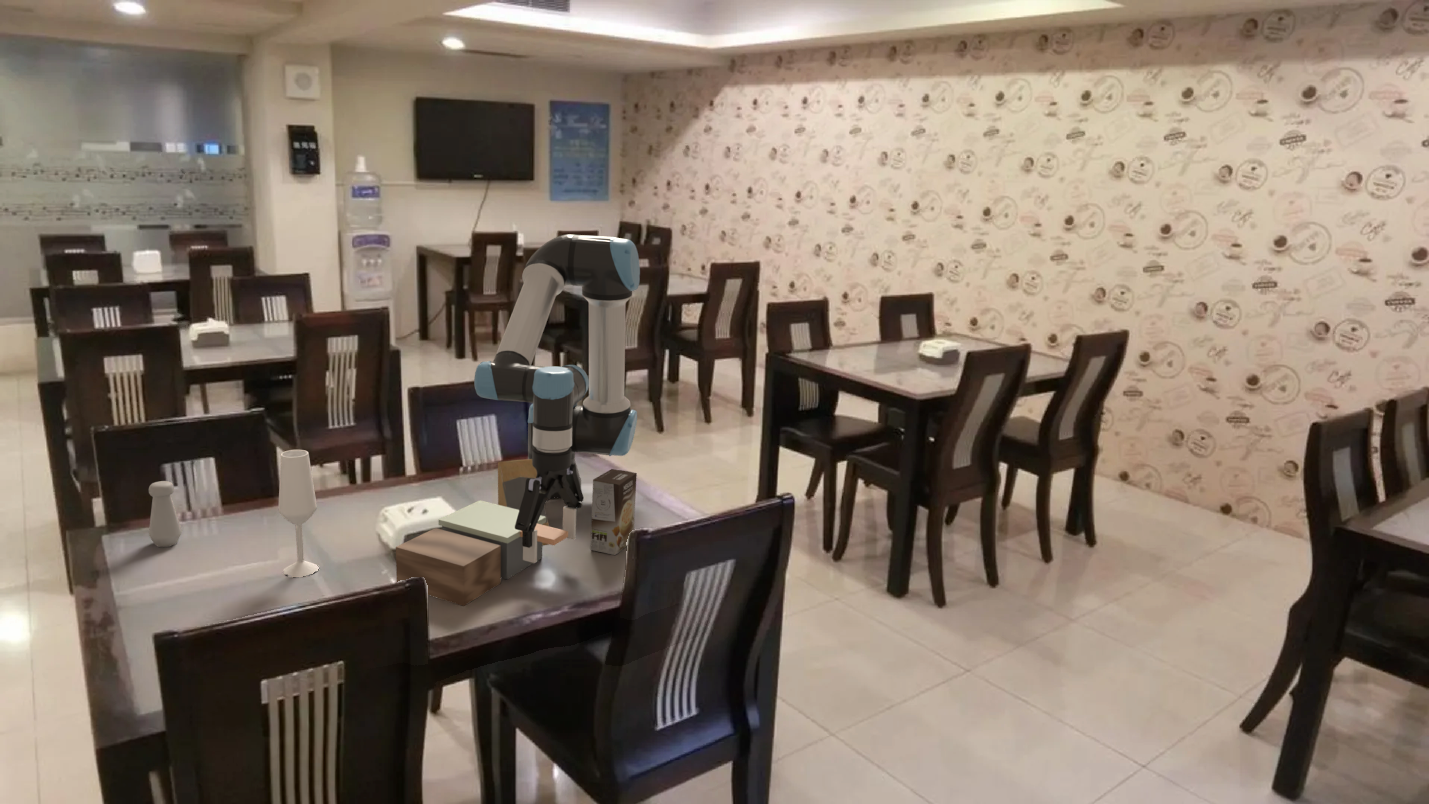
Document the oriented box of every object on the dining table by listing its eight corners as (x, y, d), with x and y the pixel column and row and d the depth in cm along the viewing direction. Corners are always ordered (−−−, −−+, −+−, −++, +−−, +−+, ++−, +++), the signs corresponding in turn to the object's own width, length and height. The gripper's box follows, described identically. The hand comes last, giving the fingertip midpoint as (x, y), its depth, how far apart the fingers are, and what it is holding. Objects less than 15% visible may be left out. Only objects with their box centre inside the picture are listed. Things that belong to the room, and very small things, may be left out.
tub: (480, 541, 197) (480, 506, 195) (542, 558, 191) (542, 522, 189) (442, 561, 187) (442, 524, 185) (506, 579, 180) (507, 542, 178)
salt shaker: (189, 541, 188) (184, 482, 185) (162, 551, 183) (156, 490, 180) (170, 535, 190) (164, 476, 187) (143, 544, 185) (137, 484, 182)
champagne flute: (278, 567, 179) (271, 451, 173) (314, 560, 183) (308, 446, 177) (287, 580, 174) (279, 461, 168) (324, 572, 178) (318, 456, 172)
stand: (435, 564, 185) (435, 528, 183) (500, 583, 179) (500, 545, 177) (396, 585, 175) (395, 546, 173) (463, 606, 169) (463, 566, 167)
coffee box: (616, 556, 194) (619, 485, 190) (589, 550, 196) (591, 479, 192) (634, 540, 203) (637, 472, 199) (608, 535, 205) (610, 467, 201)
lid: (479, 505, 196) (479, 500, 196) (578, 530, 186) (579, 524, 186) (438, 525, 184) (438, 519, 184) (541, 552, 175) (542, 546, 174)
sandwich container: (516, 550, 194) (516, 483, 191) (496, 524, 207) (496, 461, 204) (554, 544, 198) (556, 479, 195) (533, 519, 211) (534, 457, 208)
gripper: (571, 429, 189) (568, 525, 194) (496, 460, 167) (495, 567, 172) (602, 435, 186) (599, 532, 191) (530, 467, 164) (528, 576, 169)
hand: (550, 549), depth 182 cm, fingers open, 13 cm apart
